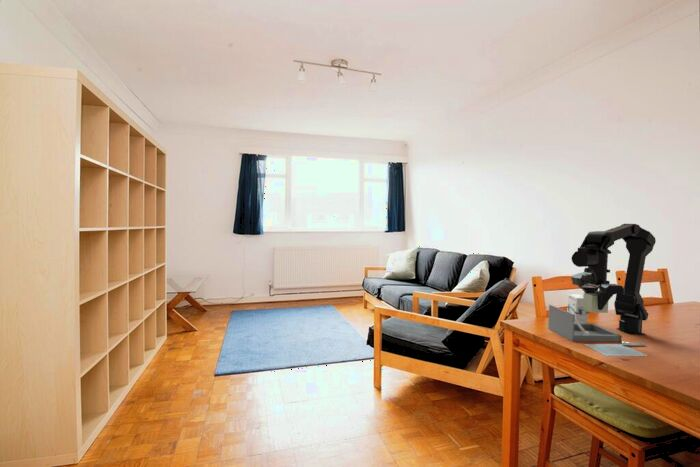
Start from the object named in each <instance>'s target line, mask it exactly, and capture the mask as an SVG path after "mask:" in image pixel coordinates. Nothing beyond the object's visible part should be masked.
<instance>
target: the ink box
mask: <svg viewBox="0 0 700 467" xmlns="http://www.w3.org/2000/svg"><path fill="white" fill-rule="evenodd" d="M567 296H568V297H567V308H566V309H567V310H566V311H567V312H569V313H572V314H574V315H575V318H576V320H577V321H578V322H579V323H580V324H588V317H589V311H586V310H583V296H584V294H583V295H582V294H579V293H568V295H567ZM574 324H576V323H575V321H574Z"/></svg>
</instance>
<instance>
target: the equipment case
mask: <svg viewBox="0 0 700 467" xmlns="http://www.w3.org/2000/svg"><path fill="white" fill-rule="evenodd" d="M574 321H575V323H576V324H574ZM547 323H548V330H550V331H552V332H554V333H556V334H558V335H559V336H561V337H563V338H565V339H567V340H569V341H570V342H613V343H614V342H617V343H618V342H620V343H621V342H622V335H620V334H619V333H617V332H613V331H611V330H610V329H607V328H604V327H602V326H599V325H596V324H594V323H587V324H580V323H579V322H578V321H577V320H576V318H575V315H574V314H572V313H569V312H567V310H564V309H562V308H560V307H557V306H554V305H552V304H549V306H548V322H547Z"/></svg>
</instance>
